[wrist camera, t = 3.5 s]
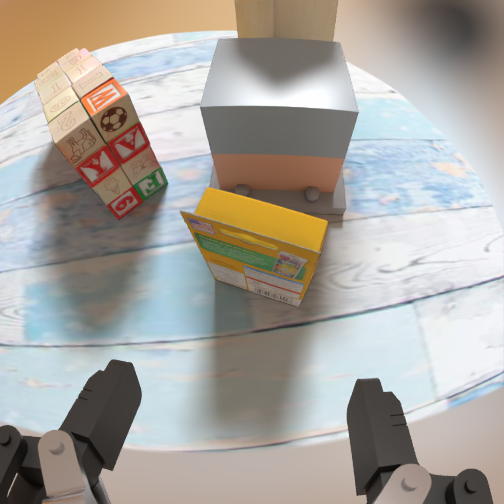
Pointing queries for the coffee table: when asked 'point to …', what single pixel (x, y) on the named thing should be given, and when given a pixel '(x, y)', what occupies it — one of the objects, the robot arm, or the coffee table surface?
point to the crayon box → (257, 244)
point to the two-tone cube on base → (280, 121)
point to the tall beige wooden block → (286, 19)
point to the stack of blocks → (99, 131)
